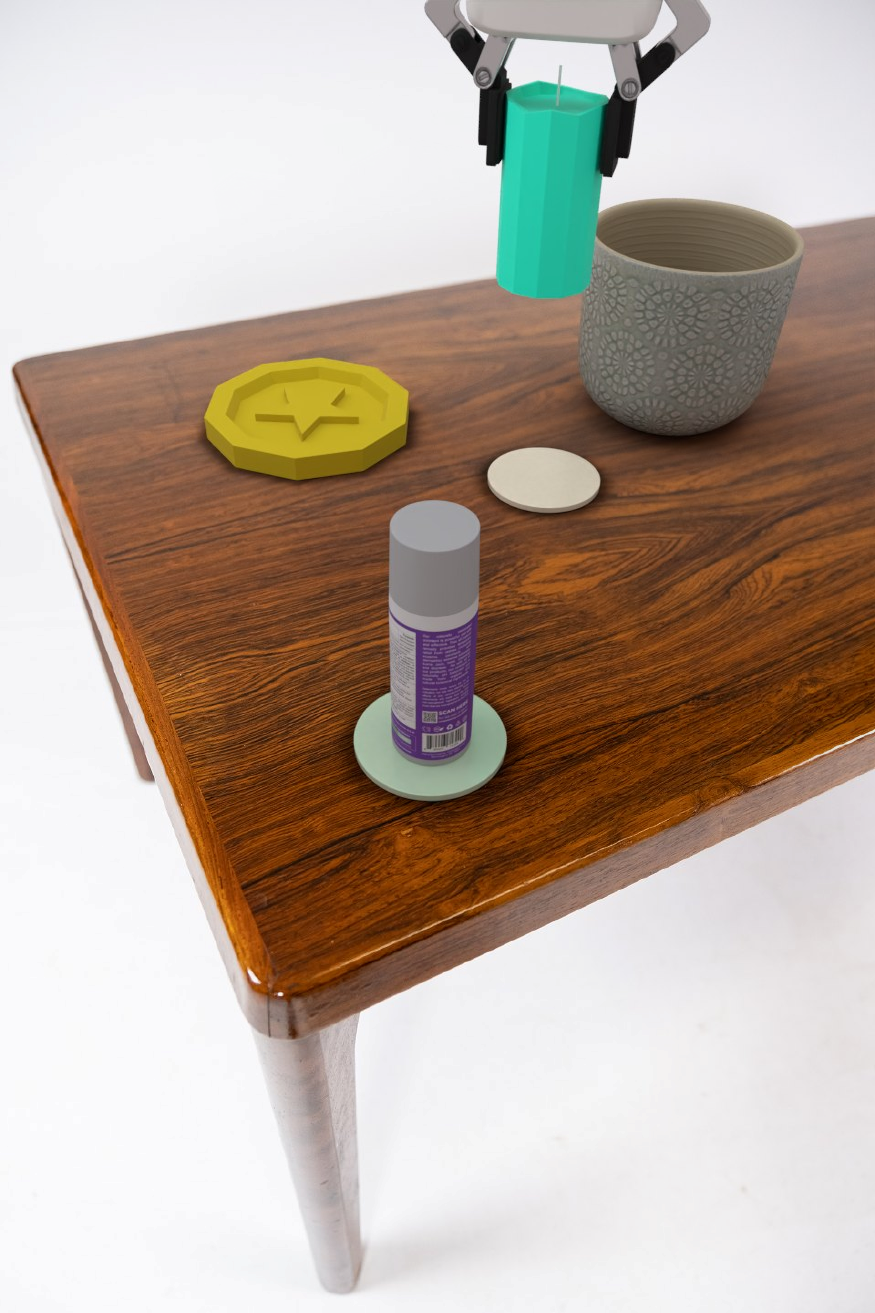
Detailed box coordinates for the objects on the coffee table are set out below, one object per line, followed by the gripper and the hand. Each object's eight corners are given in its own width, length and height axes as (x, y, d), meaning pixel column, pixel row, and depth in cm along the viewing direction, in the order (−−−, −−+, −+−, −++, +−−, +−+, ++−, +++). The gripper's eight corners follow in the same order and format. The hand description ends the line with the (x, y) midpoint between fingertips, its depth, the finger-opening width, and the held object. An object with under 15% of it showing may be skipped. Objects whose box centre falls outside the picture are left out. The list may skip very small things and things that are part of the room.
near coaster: (520, 705, 62) (521, 700, 62) (486, 816, 56) (487, 810, 55) (380, 677, 64) (380, 671, 64) (332, 782, 57) (331, 776, 57)
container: (479, 717, 61) (492, 507, 51) (459, 774, 57) (469, 560, 47) (404, 701, 62) (403, 491, 52) (381, 756, 58) (374, 543, 48)
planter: (779, 390, 93) (825, 218, 83) (731, 477, 82) (776, 290, 72) (606, 350, 99) (629, 185, 89) (539, 426, 88) (555, 247, 77)
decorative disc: (435, 460, 83) (435, 439, 82) (219, 491, 79) (216, 468, 78) (385, 370, 95) (385, 349, 94) (196, 392, 91) (193, 371, 90)
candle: (481, 267, 66) (491, 56, 58) (567, 257, 67) (587, 50, 59) (515, 303, 61) (531, 81, 53) (605, 292, 63) (633, 74, 55)
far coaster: (607, 461, 84) (608, 456, 83) (590, 521, 77) (590, 516, 77) (500, 445, 85) (501, 440, 85) (475, 502, 79) (475, 497, 78)
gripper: (388, -248, 46) (393, 170, 58) (774, -240, 43) (696, 199, 55) (430, -248, 52) (427, 134, 64) (776, -241, 49) (704, 160, 61)
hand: (552, 161), depth 60 cm, fingers closed on candle, 6 cm apart
